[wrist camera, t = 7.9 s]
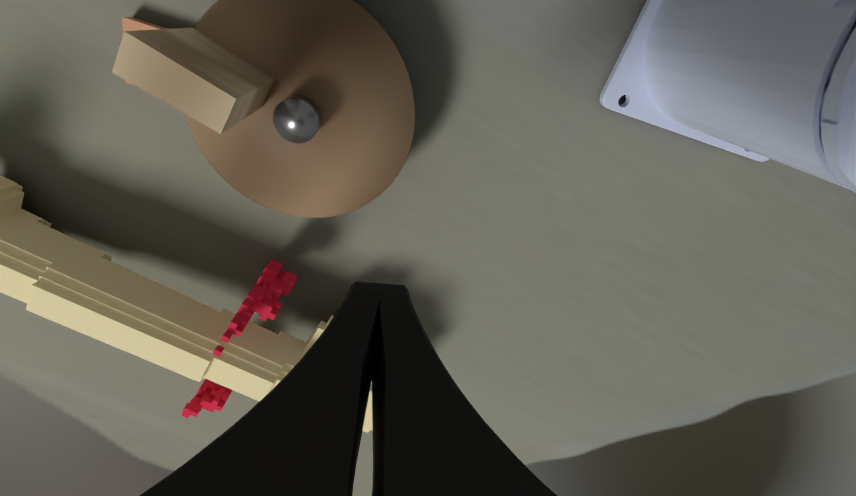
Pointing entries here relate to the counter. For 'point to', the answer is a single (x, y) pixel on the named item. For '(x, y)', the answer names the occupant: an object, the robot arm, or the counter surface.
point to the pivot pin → (297, 119)
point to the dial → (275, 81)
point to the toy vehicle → (149, 311)
